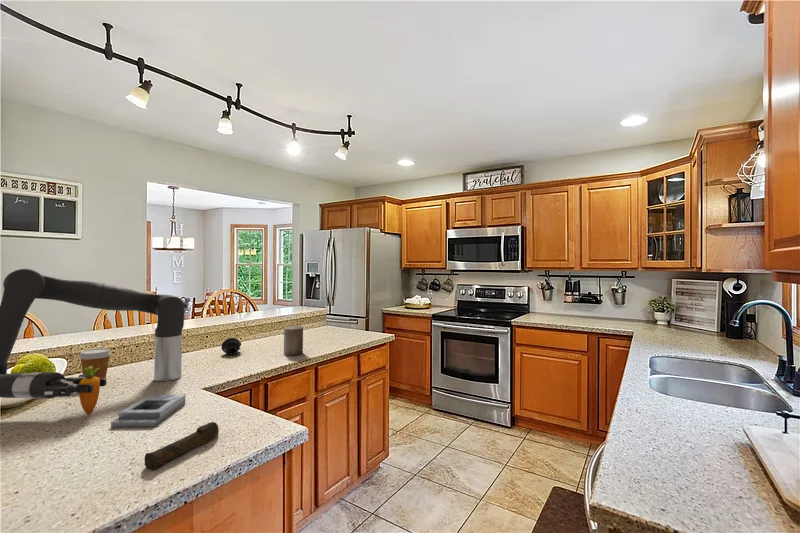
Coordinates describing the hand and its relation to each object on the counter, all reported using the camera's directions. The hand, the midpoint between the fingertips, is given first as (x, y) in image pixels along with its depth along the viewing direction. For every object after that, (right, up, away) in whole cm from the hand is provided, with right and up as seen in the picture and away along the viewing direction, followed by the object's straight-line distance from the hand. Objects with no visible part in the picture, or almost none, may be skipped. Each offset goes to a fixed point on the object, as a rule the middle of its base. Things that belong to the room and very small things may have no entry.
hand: (98, 385), depth 113 cm
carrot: (-3, -9, 0) cm, 10 cm away
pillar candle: (+36, -9, +80) cm, 88 cm away
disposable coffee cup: (-25, -8, +29) cm, 39 cm away
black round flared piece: (+5, -9, +80) cm, 80 cm away
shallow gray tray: (+15, -9, +1) cm, 18 cm away
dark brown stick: (+37, -11, -19) cm, 44 cm away
